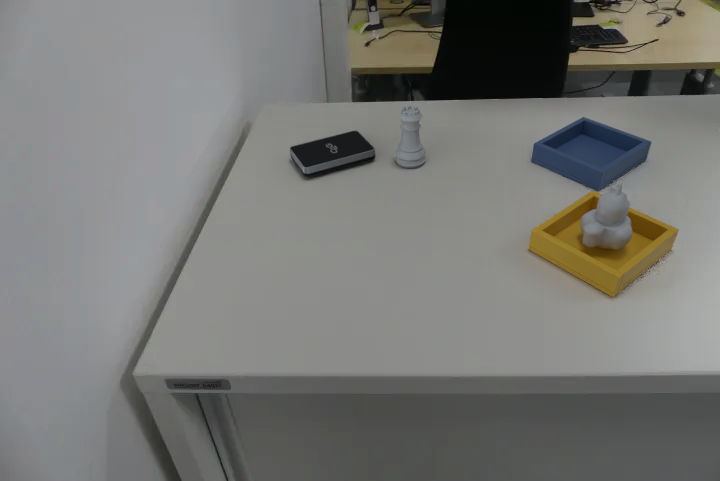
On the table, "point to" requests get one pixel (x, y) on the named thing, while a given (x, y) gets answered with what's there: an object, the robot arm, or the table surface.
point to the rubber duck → (608, 221)
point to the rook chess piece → (410, 139)
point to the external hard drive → (332, 153)
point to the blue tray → (590, 152)
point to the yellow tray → (596, 264)
